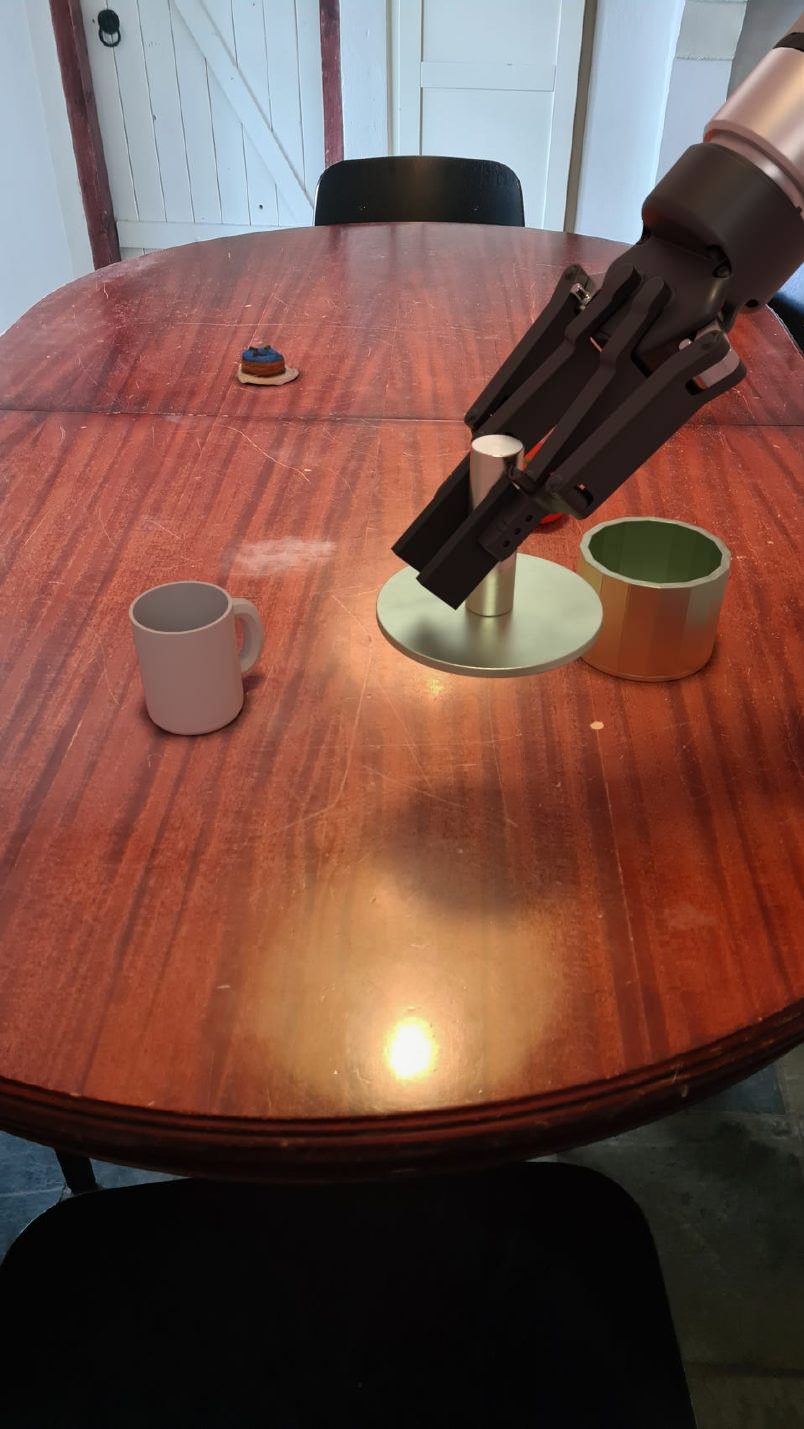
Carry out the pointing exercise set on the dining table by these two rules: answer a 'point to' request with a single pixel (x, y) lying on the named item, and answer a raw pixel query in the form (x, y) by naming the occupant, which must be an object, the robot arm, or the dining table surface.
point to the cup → (194, 654)
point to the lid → (494, 602)
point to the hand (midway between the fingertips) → (423, 578)
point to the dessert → (264, 367)
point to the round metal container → (654, 596)
